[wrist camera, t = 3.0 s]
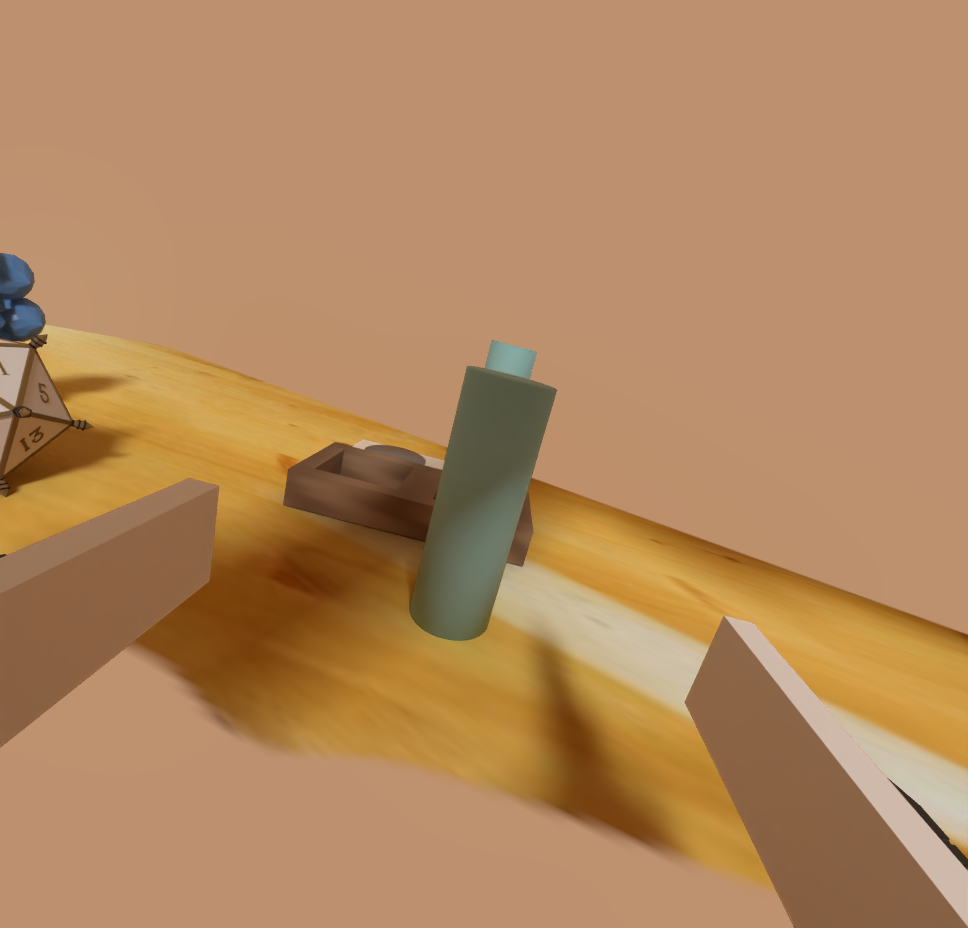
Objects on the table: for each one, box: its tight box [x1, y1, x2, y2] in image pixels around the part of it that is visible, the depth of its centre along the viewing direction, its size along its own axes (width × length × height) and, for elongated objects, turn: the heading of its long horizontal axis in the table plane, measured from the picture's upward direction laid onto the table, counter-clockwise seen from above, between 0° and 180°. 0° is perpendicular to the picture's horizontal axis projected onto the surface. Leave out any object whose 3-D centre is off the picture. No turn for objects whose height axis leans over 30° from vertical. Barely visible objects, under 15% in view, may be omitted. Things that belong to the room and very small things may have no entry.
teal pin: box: [410, 366, 557, 641], centre depth 21 cm, size 4×4×12 cm
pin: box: [485, 340, 537, 380], centre depth 40 cm, size 4×4×12 cm
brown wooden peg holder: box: [283, 442, 533, 566], centre depth 33 cm, size 16×8×2 cm, turn 85°
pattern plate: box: [352, 440, 444, 470], centre depth 41 cm, size 16×8×1 cm, turn 85°
